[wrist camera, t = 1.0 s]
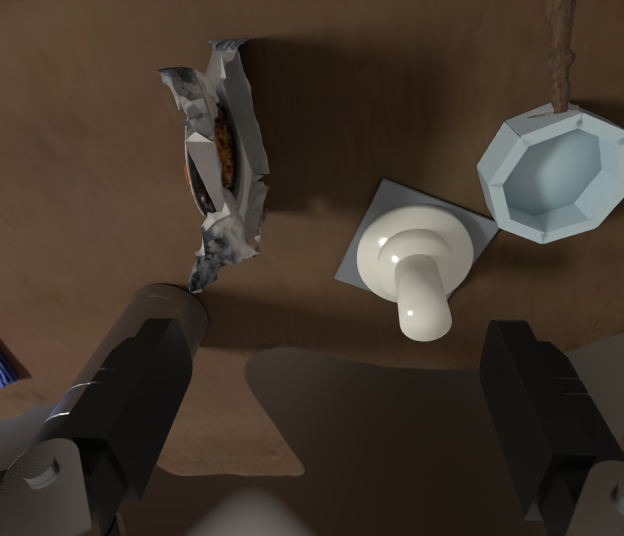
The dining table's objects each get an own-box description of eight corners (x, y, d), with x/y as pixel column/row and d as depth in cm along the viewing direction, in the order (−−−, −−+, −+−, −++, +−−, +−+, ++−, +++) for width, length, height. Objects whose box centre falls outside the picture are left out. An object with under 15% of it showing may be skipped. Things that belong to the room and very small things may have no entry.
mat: (436, 311, 46) (436, 314, 45) (334, 276, 44) (334, 278, 44) (500, 222, 39) (501, 224, 39) (382, 177, 37) (383, 179, 37)
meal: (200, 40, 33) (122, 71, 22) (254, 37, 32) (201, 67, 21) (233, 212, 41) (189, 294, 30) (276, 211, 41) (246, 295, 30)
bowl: (554, 232, 39) (571, 255, 36) (458, 195, 38) (467, 215, 34) (636, 131, 33) (666, 148, 30) (527, 84, 32) (546, 96, 29)
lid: (434, 309, 45) (451, 384, 37) (340, 276, 44) (335, 346, 35) (493, 227, 39) (530, 295, 30) (385, 186, 37) (392, 245, 29)
